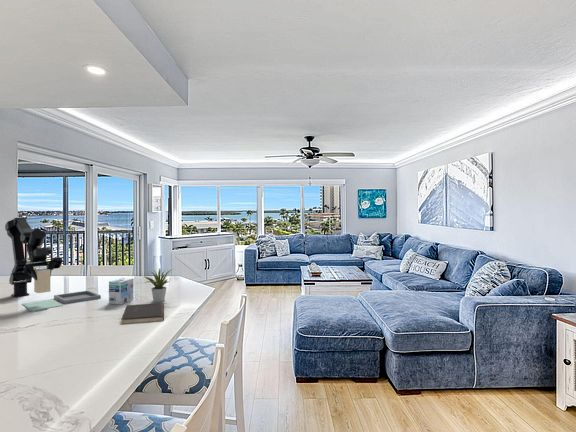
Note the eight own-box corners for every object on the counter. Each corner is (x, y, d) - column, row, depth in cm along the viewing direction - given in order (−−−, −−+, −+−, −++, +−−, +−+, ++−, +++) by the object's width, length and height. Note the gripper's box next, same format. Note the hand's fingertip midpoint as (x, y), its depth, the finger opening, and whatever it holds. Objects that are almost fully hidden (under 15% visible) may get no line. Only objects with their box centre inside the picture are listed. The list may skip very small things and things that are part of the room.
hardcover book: (121, 324, 152) (121, 319, 152) (126, 310, 174) (126, 305, 174) (164, 321, 157) (164, 316, 157) (163, 307, 179) (163, 302, 179)
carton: (34, 291, 177) (34, 269, 177) (46, 289, 181) (46, 268, 181) (38, 293, 174) (37, 270, 174) (50, 291, 178) (50, 269, 177)
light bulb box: (120, 304, 181) (120, 282, 181) (108, 304, 183) (108, 281, 183) (134, 299, 192) (134, 278, 192) (122, 298, 193) (122, 277, 193)
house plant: (165, 295, 202) (165, 264, 201) (181, 299, 193) (181, 266, 192) (139, 300, 191) (139, 267, 190) (155, 304, 182) (155, 270, 181)
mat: (22, 305, 178) (22, 303, 178) (51, 301, 187) (51, 299, 187) (32, 311, 168) (32, 310, 168) (62, 306, 176) (62, 305, 176)
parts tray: (54, 299, 191) (54, 295, 191) (88, 294, 203) (88, 290, 203) (65, 305, 180) (65, 300, 180) (100, 299, 192) (100, 295, 192)
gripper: (15, 242, 172) (23, 270, 165) (61, 240, 187) (70, 265, 180) (10, 258, 178) (17, 285, 171) (55, 255, 192) (63, 280, 185)
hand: (43, 278), depth 176 cm, fingers closed on carton, 5 cm apart
